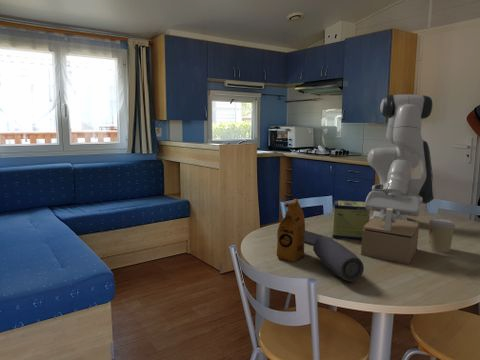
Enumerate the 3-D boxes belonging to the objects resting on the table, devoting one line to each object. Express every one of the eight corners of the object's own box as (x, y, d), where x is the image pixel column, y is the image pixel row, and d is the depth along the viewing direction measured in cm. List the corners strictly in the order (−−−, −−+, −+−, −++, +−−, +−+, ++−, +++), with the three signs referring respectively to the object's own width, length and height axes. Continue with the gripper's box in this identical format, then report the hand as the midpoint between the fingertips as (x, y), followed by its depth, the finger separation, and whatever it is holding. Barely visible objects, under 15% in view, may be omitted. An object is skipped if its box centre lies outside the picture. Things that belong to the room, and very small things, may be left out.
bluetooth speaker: (364, 284, 126) (366, 255, 125) (338, 286, 125) (340, 256, 123) (333, 259, 148) (335, 234, 147) (311, 260, 146) (312, 235, 145)
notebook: (278, 236, 178) (315, 248, 162) (278, 232, 178) (315, 244, 162) (295, 230, 186) (333, 241, 171) (295, 227, 186) (333, 238, 170)
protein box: (368, 240, 171) (370, 206, 168) (332, 238, 174) (334, 204, 172) (365, 234, 181) (367, 201, 179) (331, 231, 184) (333, 199, 182)
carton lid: (374, 218, 169) (376, 198, 168) (419, 224, 160) (421, 203, 158) (363, 228, 152) (364, 207, 151) (412, 236, 143) (414, 213, 142)
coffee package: (272, 258, 148) (273, 202, 144) (284, 249, 159) (286, 196, 155) (296, 263, 143) (298, 206, 140) (307, 253, 154) (310, 199, 150)
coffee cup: (431, 244, 167) (434, 217, 166) (455, 249, 161) (458, 222, 159) (423, 249, 161) (426, 221, 159) (447, 255, 154) (450, 226, 152)
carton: (372, 241, 170) (374, 219, 169) (416, 249, 161) (419, 226, 159) (360, 254, 153) (362, 230, 152) (409, 264, 144) (411, 238, 142)
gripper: (423, 200, 152) (418, 229, 145) (370, 194, 162) (363, 221, 156) (423, 190, 147) (417, 220, 140) (368, 185, 158) (360, 213, 151)
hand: (388, 221), depth 148 cm, fingers closed on carton lid, 2 cm apart
